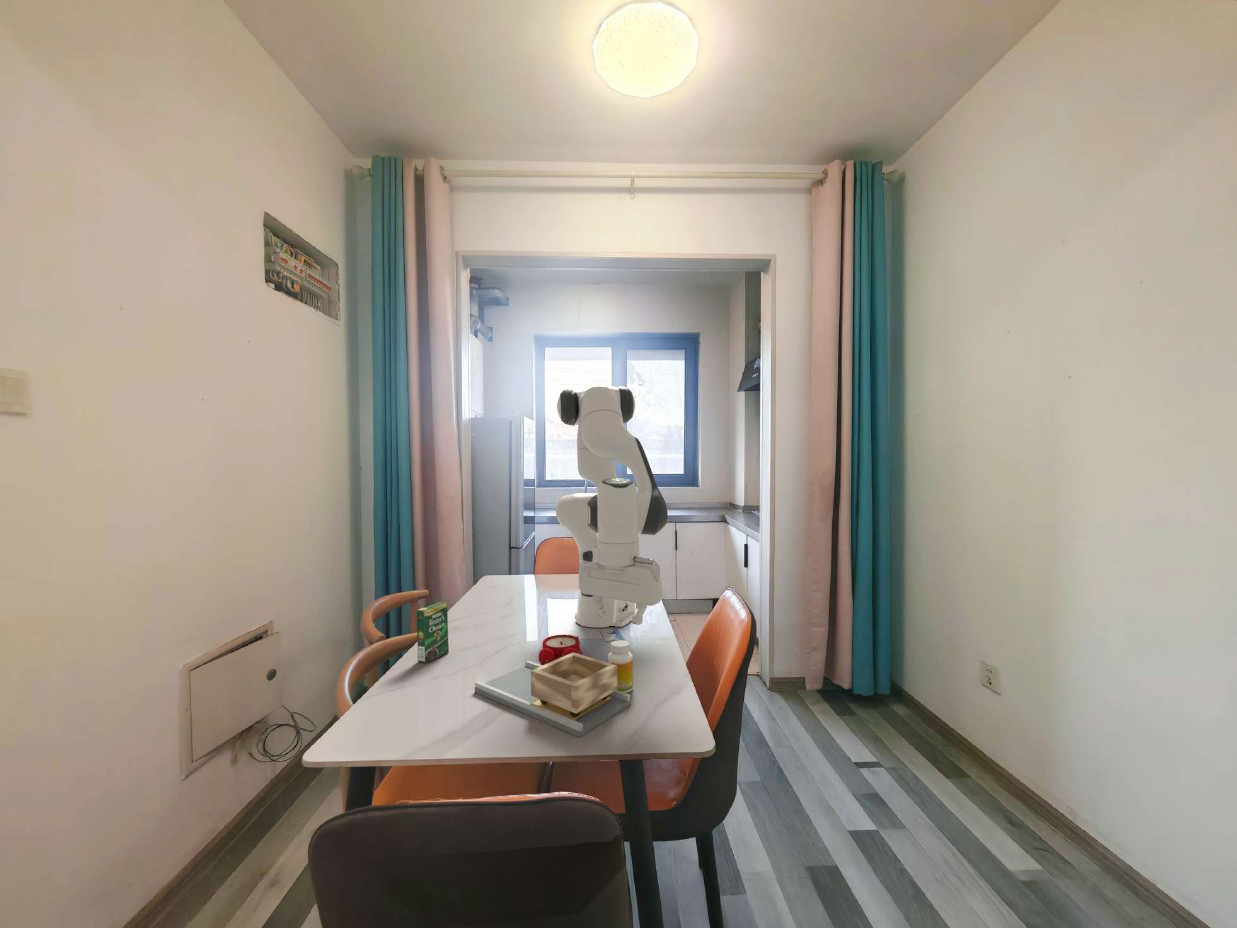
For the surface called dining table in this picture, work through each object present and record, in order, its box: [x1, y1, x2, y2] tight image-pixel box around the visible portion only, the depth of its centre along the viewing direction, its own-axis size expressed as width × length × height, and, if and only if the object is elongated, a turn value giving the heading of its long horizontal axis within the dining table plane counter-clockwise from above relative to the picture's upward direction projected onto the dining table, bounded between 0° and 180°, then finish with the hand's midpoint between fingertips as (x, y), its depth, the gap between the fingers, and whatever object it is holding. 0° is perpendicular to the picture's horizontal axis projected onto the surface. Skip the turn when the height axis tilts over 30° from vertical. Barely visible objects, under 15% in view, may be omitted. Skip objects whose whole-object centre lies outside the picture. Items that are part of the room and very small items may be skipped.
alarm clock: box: [537, 634, 583, 665], centre depth 125 cm, size 10×6×15 cm
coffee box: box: [415, 601, 450, 664], centre depth 127 cm, size 8×3×13 cm, turn 154°
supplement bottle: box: [607, 639, 634, 694], centre depth 108 cm, size 5×5×10 cm
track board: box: [474, 660, 631, 738], centre depth 104 cm, size 15×30×2 cm, turn 52°
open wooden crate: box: [531, 652, 618, 717], centre depth 100 cm, size 12×12×6 cm
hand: (619, 619), depth 108 cm, fingers open, 8 cm apart
